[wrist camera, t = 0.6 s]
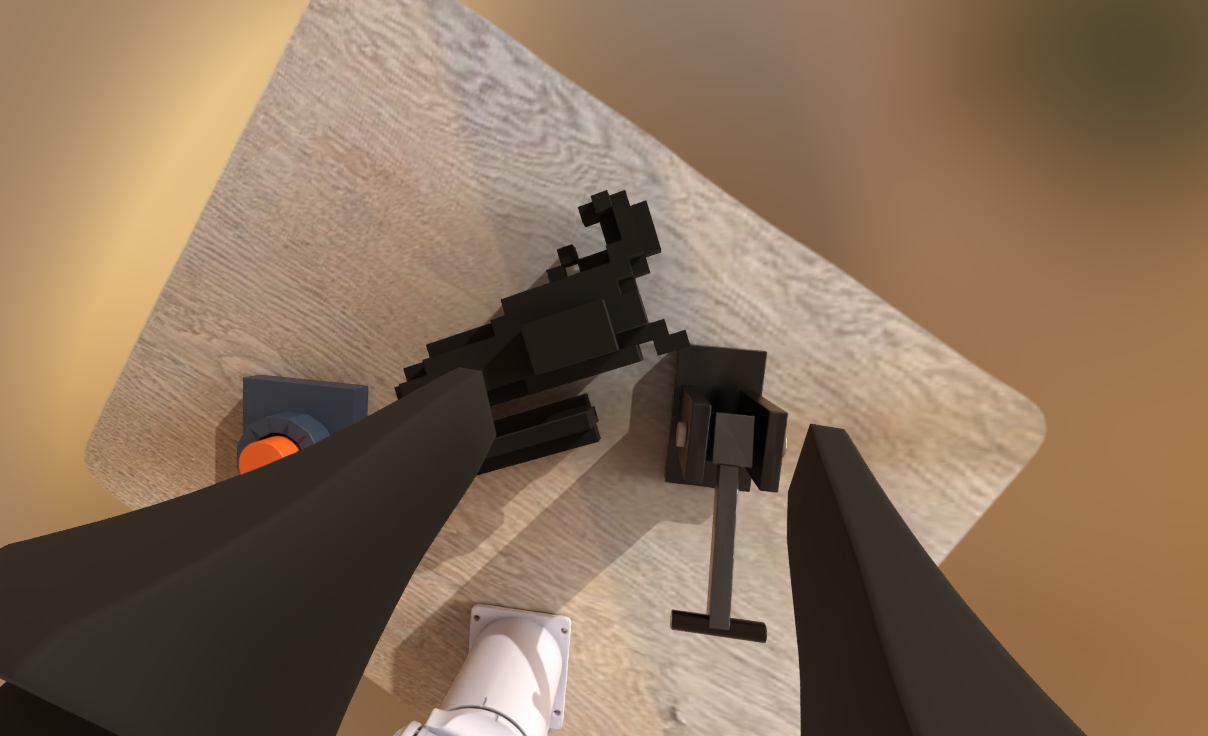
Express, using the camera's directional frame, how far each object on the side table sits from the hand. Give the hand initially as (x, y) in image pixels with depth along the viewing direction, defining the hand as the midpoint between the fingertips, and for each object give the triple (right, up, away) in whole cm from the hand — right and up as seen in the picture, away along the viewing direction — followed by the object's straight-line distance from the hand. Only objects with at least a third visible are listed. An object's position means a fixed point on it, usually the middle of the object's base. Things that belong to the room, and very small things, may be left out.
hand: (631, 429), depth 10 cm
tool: (-5, +3, +23) cm, 24 cm away
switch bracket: (+7, -2, +23) cm, 24 cm away
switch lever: (+6, -7, +16) cm, 19 cm away
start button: (-24, -5, +23) cm, 34 cm away
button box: (-24, -5, +26) cm, 36 cm away
